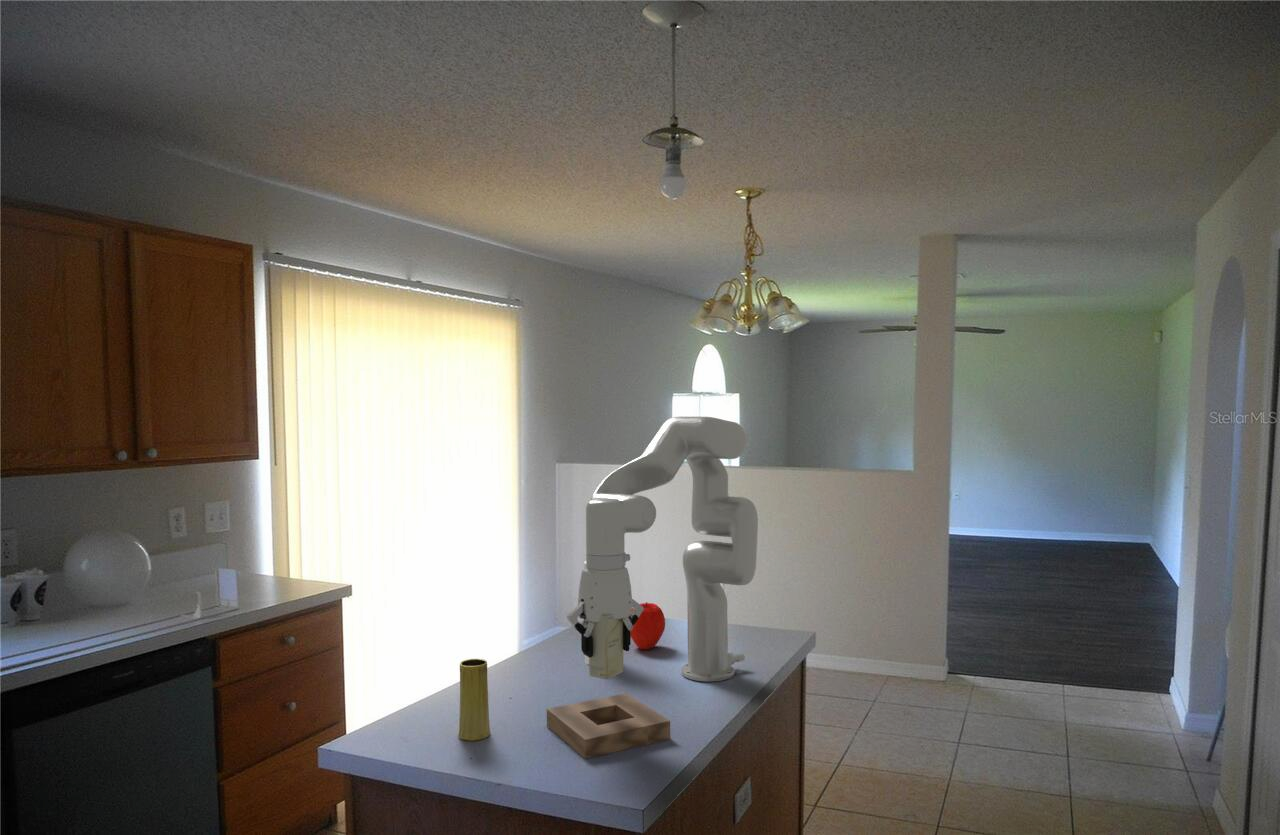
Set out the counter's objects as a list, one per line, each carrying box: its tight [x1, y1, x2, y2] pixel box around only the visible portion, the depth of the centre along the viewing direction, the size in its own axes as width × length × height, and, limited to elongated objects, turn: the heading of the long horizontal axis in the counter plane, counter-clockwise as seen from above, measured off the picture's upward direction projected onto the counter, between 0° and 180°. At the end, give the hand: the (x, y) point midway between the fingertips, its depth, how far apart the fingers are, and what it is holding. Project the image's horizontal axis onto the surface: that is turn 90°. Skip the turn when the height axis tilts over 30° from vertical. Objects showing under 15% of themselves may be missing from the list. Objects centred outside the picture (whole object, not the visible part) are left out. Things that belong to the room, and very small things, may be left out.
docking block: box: [546, 693, 671, 760], centre depth 165 cm, size 18×18×4 cm
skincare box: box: [588, 615, 624, 680], centre depth 165 cm, size 6×4×12 cm
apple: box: [630, 601, 666, 651], centre depth 222 cm, size 10×10×12 cm
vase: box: [457, 658, 491, 742], centre depth 164 cm, size 6×6×14 cm
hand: (606, 651), depth 165 cm, fingers closed on skincare box, 7 cm apart
